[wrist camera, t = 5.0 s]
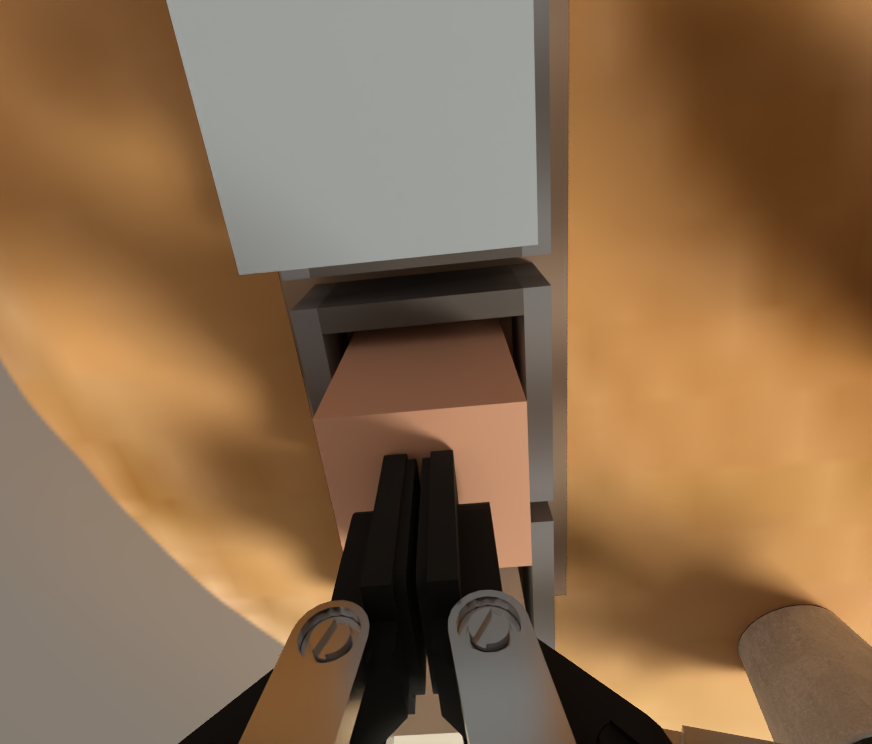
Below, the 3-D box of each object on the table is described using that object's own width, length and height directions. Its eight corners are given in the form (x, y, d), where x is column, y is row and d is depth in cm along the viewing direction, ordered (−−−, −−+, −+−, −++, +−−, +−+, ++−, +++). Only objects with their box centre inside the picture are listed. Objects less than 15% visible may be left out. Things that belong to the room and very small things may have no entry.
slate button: (293, 23, 12) (135, -113, 6) (483, -2, 12) (529, -170, 6) (329, 220, 14) (239, 274, 8) (494, 203, 14) (538, 244, 8)
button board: (224, 2, 15) (153, -47, 11) (562, -42, 14) (604, -109, 11) (360, 599, 25) (346, 677, 21) (562, 586, 24) (583, 663, 21)
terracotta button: (359, 322, 18) (312, 420, 11) (495, 308, 17) (526, 401, 11) (379, 438, 19) (349, 578, 13) (501, 427, 19) (532, 565, 13)
